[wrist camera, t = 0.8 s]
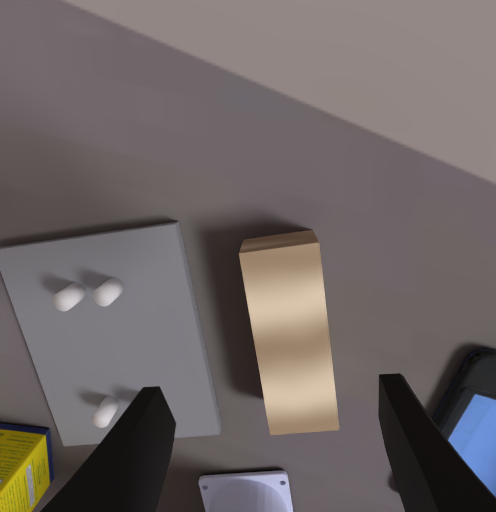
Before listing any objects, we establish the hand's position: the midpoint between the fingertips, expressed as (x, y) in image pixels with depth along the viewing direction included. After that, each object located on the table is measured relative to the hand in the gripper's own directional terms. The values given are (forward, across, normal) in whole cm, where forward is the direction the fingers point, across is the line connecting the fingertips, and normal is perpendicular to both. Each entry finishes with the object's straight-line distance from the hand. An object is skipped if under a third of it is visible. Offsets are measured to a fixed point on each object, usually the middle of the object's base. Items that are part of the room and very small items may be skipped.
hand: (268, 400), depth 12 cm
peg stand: (+12, +14, +8) cm, 21 cm away
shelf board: (+14, 0, +9) cm, 16 cm away
